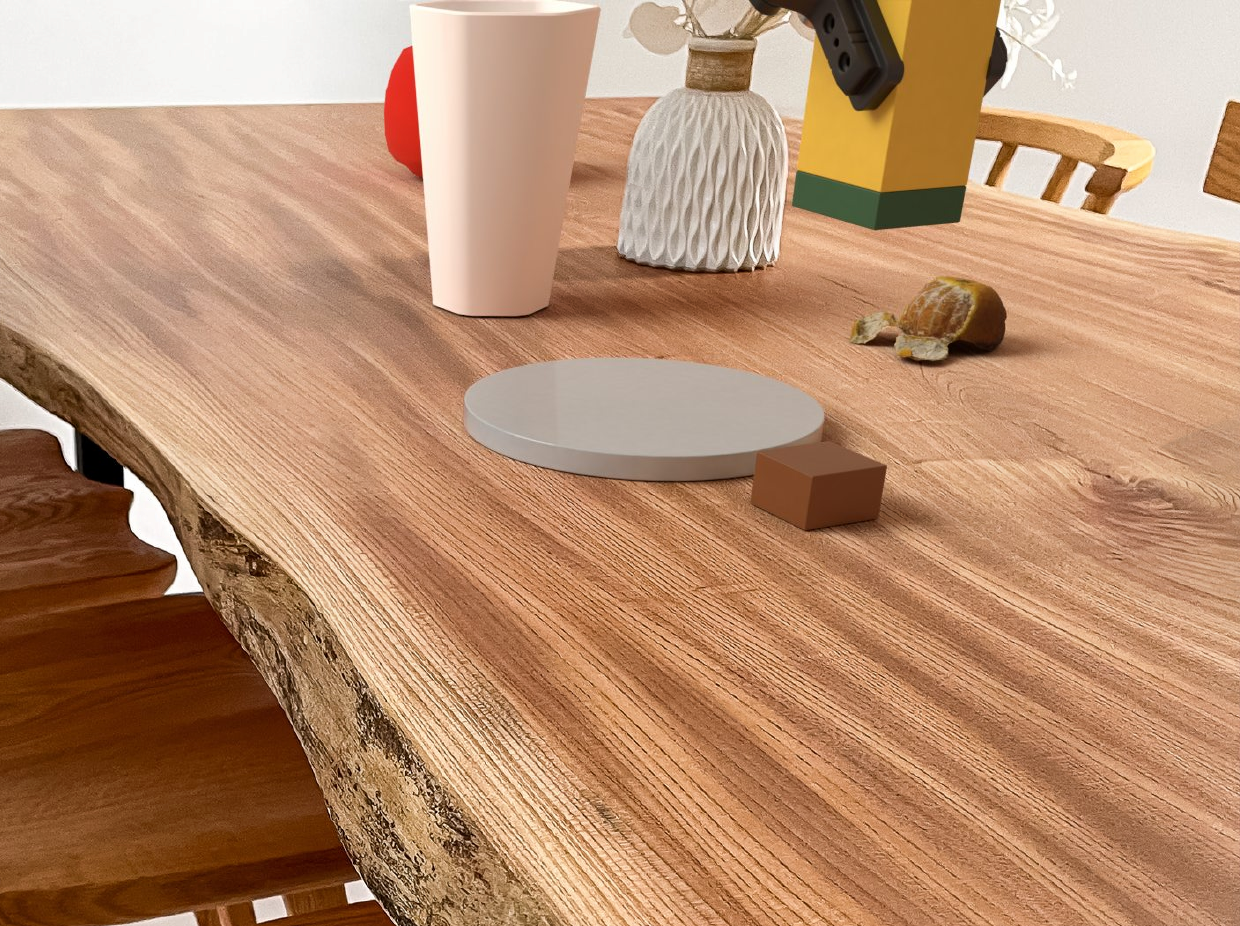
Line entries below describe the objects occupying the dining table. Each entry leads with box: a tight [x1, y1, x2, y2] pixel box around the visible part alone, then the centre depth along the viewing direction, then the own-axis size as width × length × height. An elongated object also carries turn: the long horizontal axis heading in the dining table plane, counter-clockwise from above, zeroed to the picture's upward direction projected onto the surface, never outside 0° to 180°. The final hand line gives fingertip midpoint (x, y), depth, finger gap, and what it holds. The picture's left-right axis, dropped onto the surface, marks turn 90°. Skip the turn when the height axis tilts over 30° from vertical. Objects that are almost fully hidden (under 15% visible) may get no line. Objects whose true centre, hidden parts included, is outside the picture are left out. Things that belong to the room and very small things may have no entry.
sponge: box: [791, 0, 1002, 231], centre depth 65 cm, size 5×4×8 cm
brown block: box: [749, 440, 888, 531], centre depth 78 cm, size 4×4×2 cm
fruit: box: [849, 276, 1008, 362], centre depth 103 cm, size 8×8×4 cm
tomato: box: [383, 44, 423, 180], centre depth 152 cm, size 14×13×10 cm
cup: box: [409, 0, 602, 317], centre depth 108 cm, size 11×10×17 cm
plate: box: [462, 357, 826, 482], centre depth 89 cm, size 18×18×1 cm
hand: (932, 90), depth 63 cm, fingers closed on sponge, 4 cm apart
